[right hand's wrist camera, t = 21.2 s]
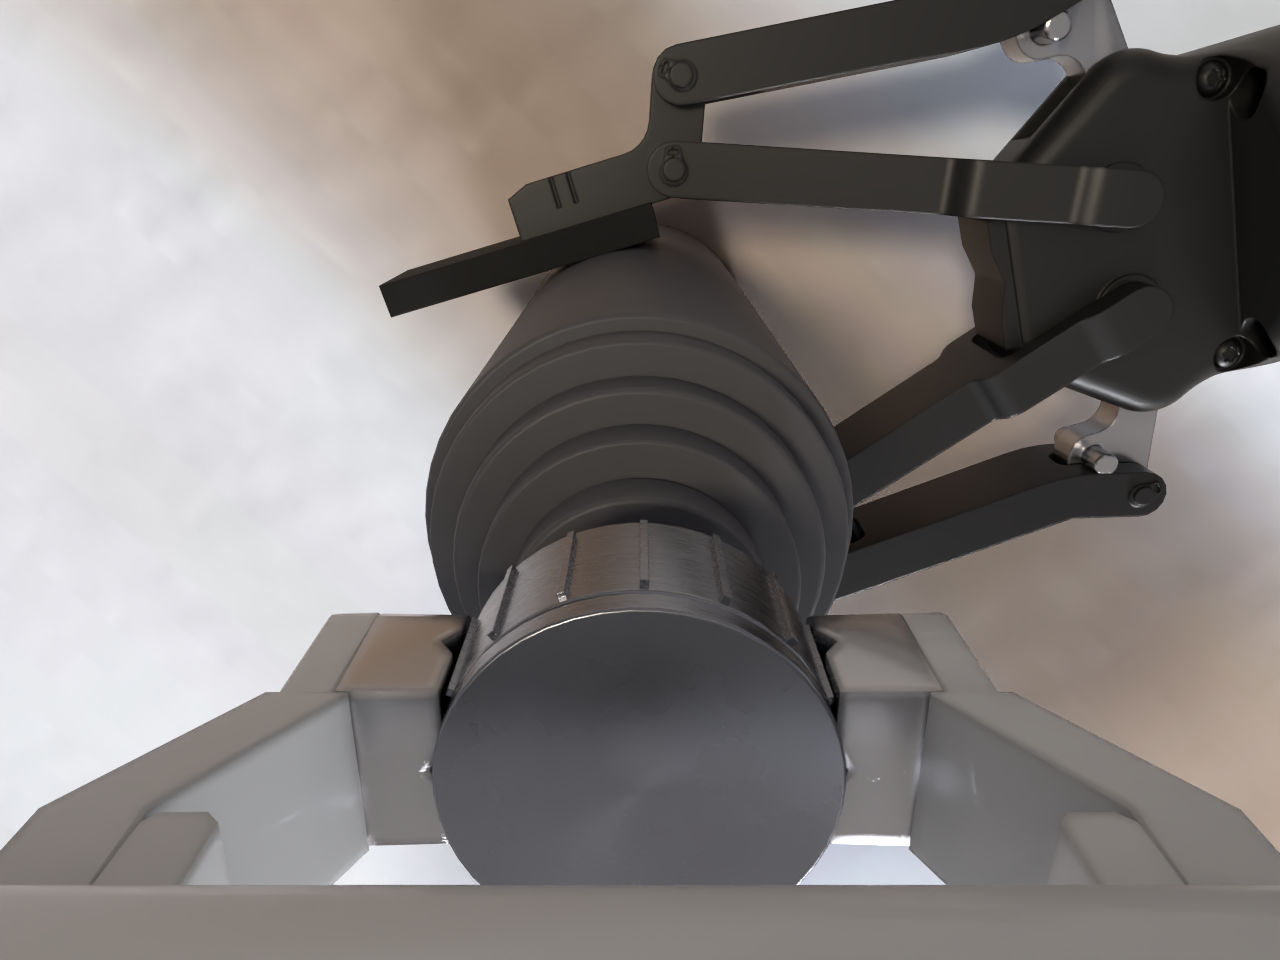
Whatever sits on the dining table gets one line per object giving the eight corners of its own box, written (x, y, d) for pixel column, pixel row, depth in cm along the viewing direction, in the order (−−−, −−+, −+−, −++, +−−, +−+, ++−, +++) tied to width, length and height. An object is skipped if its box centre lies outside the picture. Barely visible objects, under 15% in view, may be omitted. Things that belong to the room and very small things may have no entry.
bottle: (719, 445, 30) (875, 1031, 10) (521, 411, 29) (285, 952, 10) (765, 243, 27) (1079, 495, 8) (551, 203, 27) (316, 364, 7)
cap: (427, 549, 9) (377, 642, 8) (793, 490, 9) (828, 574, 7) (508, 836, 11) (483, 972, 9) (828, 791, 10) (867, 921, 9)
